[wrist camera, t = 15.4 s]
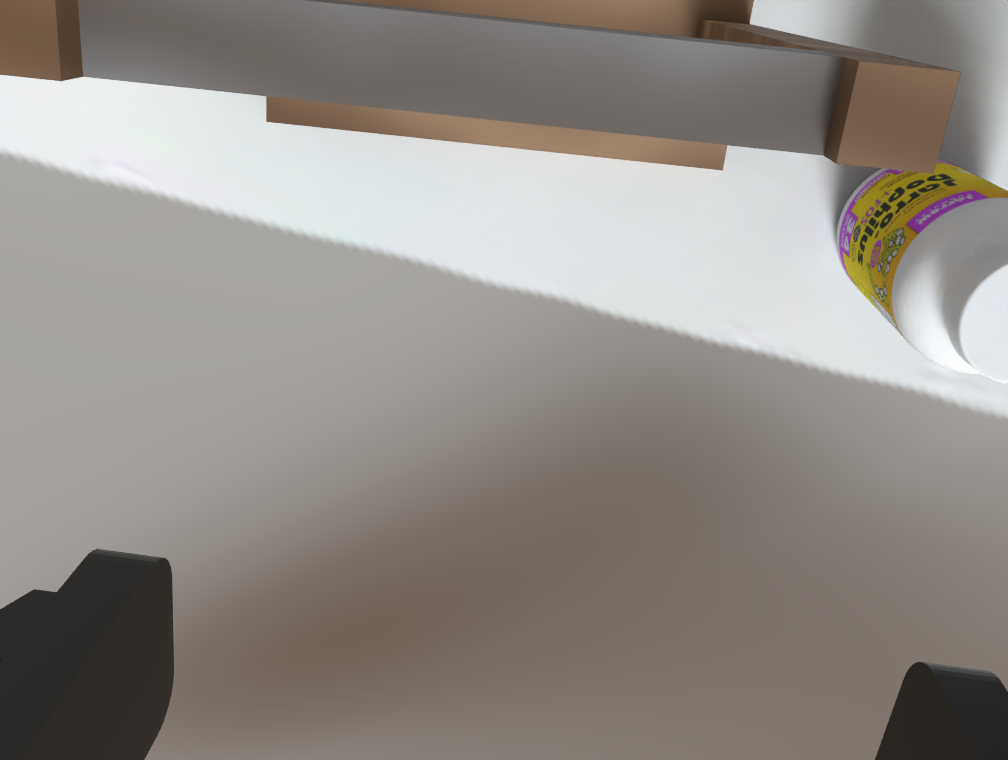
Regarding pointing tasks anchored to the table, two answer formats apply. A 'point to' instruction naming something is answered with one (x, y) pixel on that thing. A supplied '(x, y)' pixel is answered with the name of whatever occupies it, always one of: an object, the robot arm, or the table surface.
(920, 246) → the supplement bottle
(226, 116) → the table surface
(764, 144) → the stand
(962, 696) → the robot arm
